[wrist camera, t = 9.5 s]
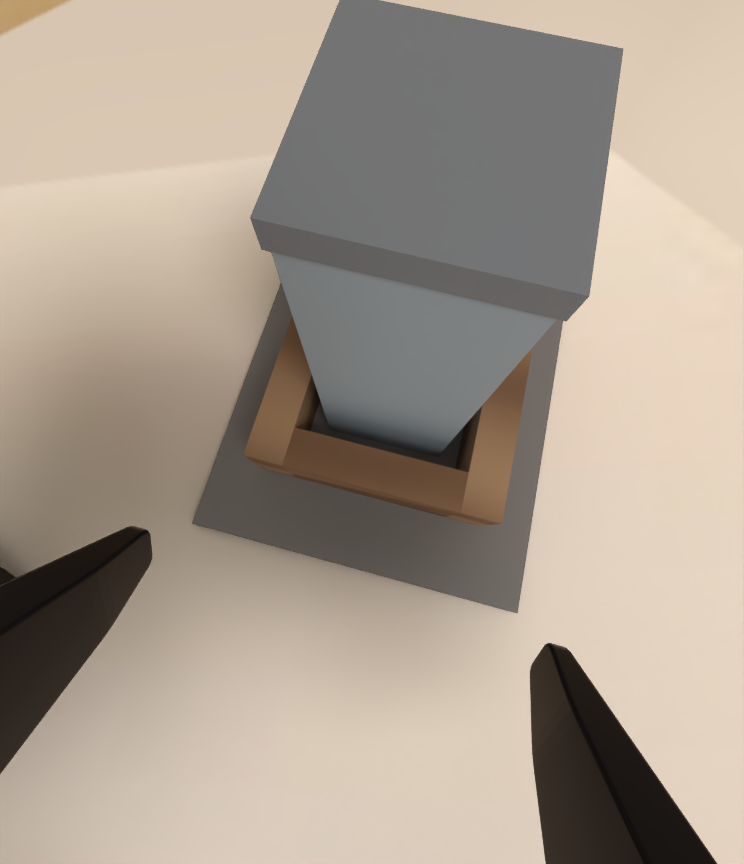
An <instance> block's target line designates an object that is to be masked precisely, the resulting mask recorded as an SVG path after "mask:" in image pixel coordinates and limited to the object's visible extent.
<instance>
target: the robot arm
mask: <svg viewBox="0 0 744 864" xmlns="http://www.w3.org/2000/svg"><path fill="white" fill-rule="evenodd" d="M151 560H152V547H151V537H150V533H149V531H148V530H145V529H142V528H138V527H134V526H130V527H126V528H124V529H122V530H120V531H117V532H115V533H113V534H111V535H109V536H107V537H104V538H102V539H100V540H98V541H96V542H94V543H91V544H89V545H87V546H85V547H83V548H81V549H78V550H76V551H74V552H72V553H70V554H67V555H65V556H63V557H61V558H59V559H57V560H54V561H52V562H50V563H48V564H46V565H44V566H41V567H39V568H37V569H35V570H33V571H31V572H28V573H26V574H24V575H22V576H20V577H17V578H15V579H13V580H11V581H9V582H7V583H4V584H2V585H0V774H1V772H2V771H3V770H4V768H5V767H6V766H7V764H8V763H9V762H10V761H11V759H12V758H13V757H14V755H15V754H16V753H17V751H18V750H19V749H20V747H21V746H22V745H23V743H24V742H25V741H26V739H27V738H28V737H29V735H30V734H31V733H32V732H33V730H34V729H35V728H36V726H37V725H38V724H39V722H40V721H41V720H42V718H43V717H44V716H45V714H46V713H47V712H48V710H49V709H50V708H51V706H52V705H53V704H54V703H55V701H56V700H57V699H58V697H59V696H60V695H61V693H62V692H63V691H64V689H65V688H66V687H67V685H68V684H69V683H70V681H71V680H72V679H73V677H74V676H75V675H76V674H77V672H78V671H79V670H80V668H81V667H82V666H83V664H84V663H85V662H86V660H87V659H88V658H89V656H90V655H91V654H92V652H93V651H94V650H95V648H96V647H97V646H98V645H99V643H100V642H101V641H102V639H103V638H104V636H105V635H106V634H107V632H108V631H109V630H110V628H111V627H112V625H113V623H114V622H115V620H116V619H117V617H118V616H119V614H120V612H121V611H122V609H123V608H124V606H125V604H126V603H127V601H128V599H129V598H130V596H131V595H132V593H133V591H134V590H135V588H136V587H137V585H138V583H139V582H140V580H141V578H142V577H143V575H144V574H145V572H146V570H147V569H148V567H149V565H150V563H151ZM530 695H531V732H532V755H533V765H534V774H535V782H536V790H537V798H538V806H539V814H540V822H541V830H542V838H543V845H544V853H545V861H546V864H717V862H716V861H715V860H714V858H713V857H712V855H711V854H710V852H709V851H708V849H707V848H706V847H705V845H704V844H703V842H702V841H701V839H700V838H699V836H698V835H697V834H696V832H695V831H694V829H693V828H692V826H691V825H690V823H689V822H688V821H687V819H686V818H685V816H684V815H683V813H682V812H681V811H680V809H679V808H678V806H677V805H676V803H675V802H674V800H673V799H672V798H671V796H670V795H669V793H668V792H667V790H666V789H665V787H664V786H663V785H662V783H661V782H660V780H659V779H658V777H657V776H656V774H655V773H654V772H653V770H652V769H651V767H650V766H649V764H648V763H647V761H646V760H645V759H644V757H643V756H642V754H641V753H640V751H639V750H638V748H637V747H636V746H635V744H634V743H633V741H632V740H631V738H630V737H629V735H628V734H627V733H626V731H625V730H624V728H623V727H622V725H621V724H620V722H619V721H618V720H617V718H616V717H615V715H614V714H613V712H612V711H611V709H610V708H609V707H608V705H607V704H606V702H605V701H604V699H603V698H602V697H601V695H600V694H599V692H598V691H597V689H596V688H595V686H594V685H593V684H592V682H591V681H590V679H589V678H588V676H587V675H586V673H585V672H584V671H583V669H582V668H581V666H580V665H579V663H578V662H577V660H576V659H575V658H574V656H573V655H572V653H571V652H570V651H569V650H568V649H567V648H565V647H563V646H559V645H555V644H552V643H548V644H546V645H545V646H544V647H543V648H542V650H541V651H540V653H539V654H538V656H537V657H536V659H535V660H534V662H533V663H532V666H531V670H530Z"/></svg>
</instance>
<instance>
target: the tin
mask: <svg viewBox="0 0 744 864" xmlns="http://www.w3.org/2000/svg"><path fill="white" fill-rule="evenodd" d="M622 55H623V49H622V48H617V47H612V46H606V45H602V44H596V43H592V42H587V41H582V40H577V39H572V38H566V37H562V36H556V35H552V34H546V33H541V32H536V31H531V30H526V29H521V28H516V27H511V26H506V25H501V24H496V23H491V22H486V21H480V20H476V19H471V18H465V17H460V16H456V15H451V14H446V13H441V12H435V11H430V10H425V9H420V8H415V7H410V6H405V5H400V4H395V3H390V2H385V1H380V0H340V1H339V3H338V5H337V8H336V10H335V13H334V15H333V18H332V20H331V23H330V25H329V28H328V30H327V32H326V35H325V37H324V40H323V42H322V44H321V47H320V49H319V52H318V54H317V57H316V59H315V61H314V64H313V66H312V69H311V71H310V74H309V76H308V79H307V81H306V83H305V86H304V88H303V91H302V93H301V96H300V98H299V100H298V103H297V105H296V108H295V110H294V113H293V115H292V117H291V120H290V122H289V125H288V127H287V130H286V132H285V134H284V137H283V139H282V142H281V144H280V147H279V149H278V152H277V154H276V156H275V159H274V161H273V164H272V166H271V169H270V171H269V173H268V176H267V178H266V181H265V183H264V186H263V188H262V190H261V193H260V195H259V198H258V200H257V203H256V205H255V207H254V210H253V212H252V215H251V217H250V219H251V221H252V224H253V227H254V230H255V232H256V235H257V238H258V241H259V243H260V246H261V249H262V250H265V251H270V252H271V253H272V256H273V259H274V262H275V265H276V268H277V271H278V274H279V277H280V280H281V283H282V286H283V289H284V292H285V295H286V298H287V301H288V304H289V307H290V310H291V313H292V316H293V319H294V322H295V325H296V328H297V331H298V334H299V337H300V340H301V343H302V346H303V350H304V353H305V356H306V359H307V362H308V365H309V368H310V371H311V374H312V377H313V380H314V383H315V386H316V389H317V392H318V395H319V398H320V401H321V404H322V407H323V410H324V413H325V416H326V419H327V422H328V425H329V428H330V429H331V430H335V431H339V432H343V433H347V434H351V435H355V436H359V437H363V438H366V439H370V440H374V441H378V442H382V443H386V444H390V445H394V446H398V447H401V448H405V449H409V450H413V451H417V452H421V453H425V454H429V455H433V456H436V457H438V456H439V455H440V453H441V452H442V451H443V450H444V449H445V448H446V447H447V445H448V444H449V443H450V442H451V441H452V440H453V438H454V437H455V436H456V435H457V434H458V433H459V432H460V430H461V429H462V428H463V427H464V426H465V425H466V423H467V422H468V421H469V420H470V419H471V418H472V417H473V415H474V414H475V413H476V412H477V411H478V410H479V408H480V407H481V406H482V405H483V404H484V403H485V402H486V400H487V399H488V398H489V397H490V396H491V395H492V393H493V392H494V391H495V390H496V389H497V388H498V387H499V385H500V384H501V383H502V382H503V381H504V380H505V378H506V377H507V376H508V375H509V374H510V373H511V372H512V370H513V369H514V368H515V367H516V366H517V365H518V363H519V362H520V361H521V360H522V359H523V358H524V357H525V355H526V354H527V353H528V352H529V351H530V350H531V349H532V347H533V346H534V345H535V344H536V343H537V342H538V340H539V339H540V338H541V337H542V336H543V335H544V334H545V332H546V331H547V330H548V329H549V328H550V327H551V325H552V324H553V323H554V322H555V321H556V320H557V319H559V320H563V321H567V320H568V319H569V318H570V317H571V316H572V314H573V313H574V312H575V311H576V310H577V309H578V308H579V307H580V306H581V305H582V304H583V302H584V301H585V300H586V299H587V298H588V297H589V294H590V287H591V280H592V272H593V265H594V258H595V251H596V243H597V236H598V229H599V222H600V214H601V207H602V200H603V193H604V185H605V178H606V171H607V164H608V156H609V149H610V142H611V134H612V127H613V120H614V113H615V106H616V98H617V91H618V84H619V77H620V69H621V62H622Z"/></svg>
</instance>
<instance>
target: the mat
mask: <svg viewBox="0 0 744 864" xmlns="http://www.w3.org/2000/svg"><path fill="white" fill-rule="evenodd" d="M291 318H292V313H291V310H290V307H289V304H288V301H287V298H286V295H285V292H284V289H283V286H282V283H281V285H280V287H279V290H278V293H277V295H276V298H275V301H274V303H273V306H272V309H271V312H270V314H269V317H268V320H267V322H266V325H265V328H264V331H263V333H262V336H261V339H260V341H259V344H258V347H257V349H256V352H255V355H254V358H253V360H252V363H251V366H250V368H249V371H248V374H247V376H246V379H245V382H244V385H243V387H242V390H241V393H240V395H239V398H238V401H237V404H236V406H235V409H234V412H233V414H232V417H231V420H230V422H229V425H228V428H227V431H226V433H225V436H224V439H223V441H222V444H221V447H220V450H219V452H218V455H217V458H216V460H215V463H214V466H213V468H212V471H211V474H210V477H209V479H208V482H207V485H206V487H205V490H204V493H203V496H202V498H201V501H200V504H199V506H198V509H197V512H196V514H195V517H194V520H193V523H192V524H196V525H199V526H203V527H207V528H210V529H214V530H218V531H221V532H225V533H228V534H232V535H236V536H239V537H243V538H246V539H250V540H254V541H257V542H261V543H265V544H268V545H272V546H275V547H279V548H283V549H286V550H290V551H293V552H297V553H301V554H304V555H308V556H312V557H315V558H319V559H322V560H326V561H330V562H333V563H337V564H341V565H344V566H348V567H351V568H355V569H359V570H362V571H366V572H369V573H373V574H377V575H380V576H384V577H388V578H391V579H395V580H398V581H402V582H406V583H409V584H413V585H416V586H420V587H424V588H427V589H431V590H435V591H438V592H442V593H445V594H449V595H453V596H456V597H460V598H463V599H467V600H471V601H474V602H478V603H482V604H485V605H489V606H492V607H496V608H500V609H503V610H507V611H510V612H514V613H517V612H518V606H519V599H520V593H521V587H522V580H523V574H524V567H525V561H526V555H527V548H528V542H529V535H530V529H531V523H532V516H533V510H534V503H535V497H536V490H537V484H538V478H539V471H540V465H541V458H542V452H543V446H544V439H545V433H546V426H547V420H548V414H549V407H550V401H551V394H552V388H553V382H554V375H555V369H556V362H557V356H558V349H559V343H560V337H561V330H562V324H563V320H559V319H557V320H556V321H555V322H554V323H553V324H552V325H551V327H550V328H549V329H548V330H547V331H546V332H545V334H544V335H543V336H542V337H541V338H540V339H539V340H538V342H537V343H536V344H535V345H534V346H533V349H532V355H531V361H530V366H529V372H528V378H527V384H526V389H525V395H524V401H523V407H522V412H521V418H520V424H519V429H518V435H517V441H516V447H515V452H514V458H513V464H512V470H511V475H510V481H509V487H508V493H507V498H506V504H505V510H504V515H503V521H502V524H495V525H486V526H476V525H473V524H469V523H465V522H461V521H458V520H454V519H450V518H446V517H443V516H439V515H435V514H431V513H428V512H424V511H420V510H416V509H413V508H409V507H405V506H401V505H398V504H394V503H390V502H386V501H383V500H379V499H375V498H371V497H367V496H364V495H360V494H356V493H352V492H349V491H345V490H341V489H337V488H334V487H330V486H326V485H322V484H319V483H315V482H311V481H307V480H304V479H300V478H296V477H292V476H289V475H285V474H281V473H277V472H274V471H270V470H266V469H263V468H261V467H260V466H258V465H257V464H256V463H254V462H253V461H251V460H250V459H248V458H247V457H245V456H244V455H243V454H244V451H245V448H246V445H247V442H248V440H249V437H250V434H251V431H252V428H253V425H254V423H255V420H256V417H257V414H258V411H259V408H260V406H261V403H262V400H263V397H264V394H265V391H266V389H267V386H268V383H269V380H270V377H271V374H272V372H273V369H274V366H275V363H276V360H277V357H278V355H279V352H280V349H281V346H282V343H283V340H284V338H285V335H286V332H287V329H288V326H289V323H290V321H291ZM463 430H464V427H463V428H462V429H461V430H460V432H459V433H458V434H457V435H456V436H455V437H454V438H453V440H452V441H451V442H450V443H449V444H448V445H447V447H446V448H445V449H444V450H443V451H442V452H441V453H440V455H439V456H438V457H436V456H433V455H429V454H425V453H421V452H417V451H413V450H409V449H405V448H401V447H398V446H394V445H390V444H386V443H382V442H378V441H374V440H370V439H366V438H363V437H359V436H355V435H351V434H347V433H343V432H339V431H335V430H331V429H330V428H329V425H328V422H327V419H326V416H325V413H324V410H323V407H322V404H321V401H320V402H319V405H318V408H317V411H316V414H315V418H314V421H313V424H312V427H311V430H310V431H311V432H315V433H319V434H322V435H326V436H330V437H334V438H338V439H342V440H345V441H349V442H353V443H357V444H361V445H365V446H369V447H372V448H376V449H380V450H384V451H388V452H392V453H396V454H399V455H403V456H407V457H411V458H415V459H419V460H423V461H426V462H430V463H434V464H438V465H442V466H446V467H450V468H453V469H455V467H456V463H457V458H458V453H459V448H460V444H461V439H462V434H463Z"/></svg>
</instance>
